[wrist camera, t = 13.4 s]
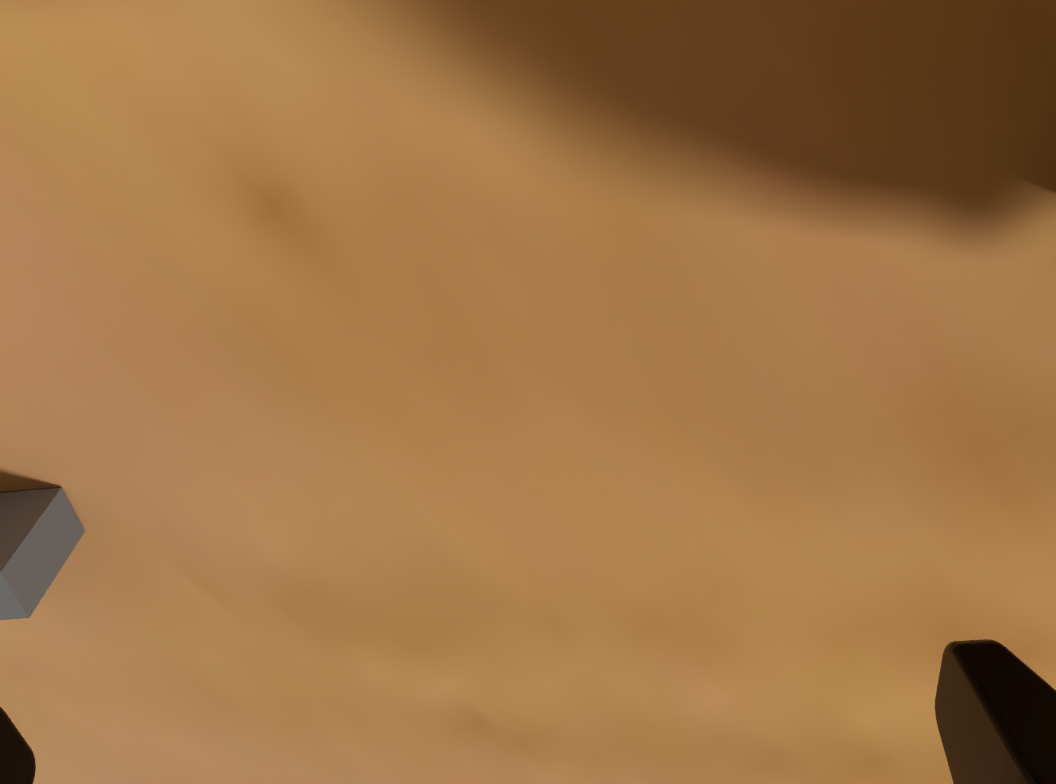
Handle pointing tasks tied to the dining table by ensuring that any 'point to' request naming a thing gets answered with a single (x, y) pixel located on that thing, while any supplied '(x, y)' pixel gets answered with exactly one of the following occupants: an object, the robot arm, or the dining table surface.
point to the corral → (33, 546)
